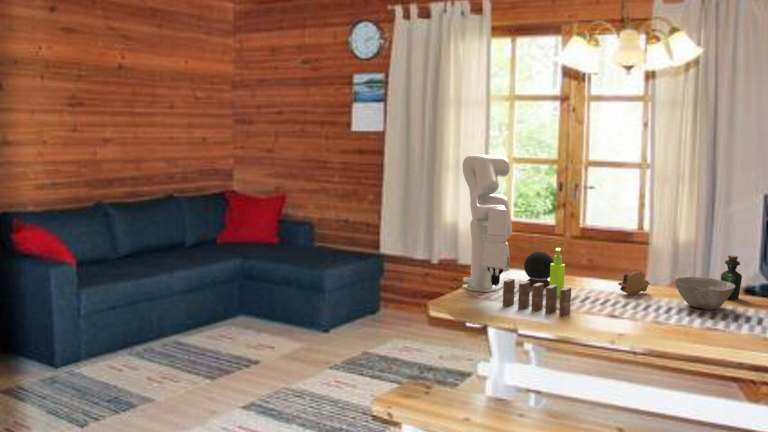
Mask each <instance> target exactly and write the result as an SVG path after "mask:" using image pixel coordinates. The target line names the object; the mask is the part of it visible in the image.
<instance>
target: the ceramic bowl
mask: <svg viewBox="0 0 768 432" xmlns="http://www.w3.org/2000/svg"><path fill="white" fill-rule="evenodd" d="M673 282H674V284H675V286H676V289H677V291H678V293H679V295H680V296H681V298H682V300H684V301H685V302H686V304H687V305H689V306H691V307H692V308H698V309H702V310H706V311H708V310H709V311H712V310H713V311H714V310H717V309H720V308H721V307H722V306H723V305H724V304H725V302H726V301H727V300H728V298H729V296H730V295H731V293H732V291H733V290H734V288H735V285H734V284H732V283H729V282H726V281H721V279H716V278H712V277H711V278H710V277H708V278H707V277H698V276H682V277H678V278H674V279H673Z"/></svg>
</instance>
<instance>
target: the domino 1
mask: <svg viewBox="0 0 768 432" xmlns="http://www.w3.org/2000/svg"><path fill="white" fill-rule="evenodd" d="M515 285H516V279H514V278H508V279H506V280H503V285H502V287H503V290H502V291H503V292H502V307H503V306H504V308H509V307H511V306H513V305H514V304H515V289H516V288H515Z"/></svg>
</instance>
